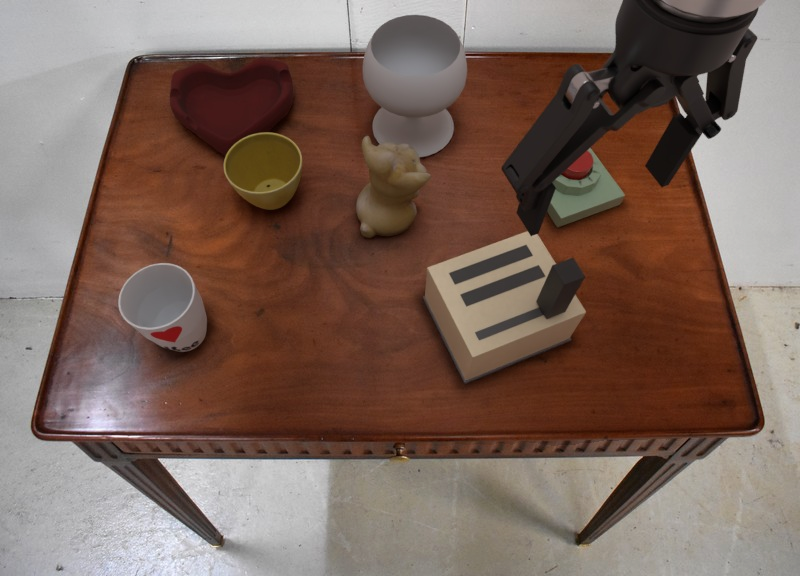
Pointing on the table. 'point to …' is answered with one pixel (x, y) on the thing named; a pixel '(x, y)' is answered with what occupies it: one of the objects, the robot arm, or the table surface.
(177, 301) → the cup
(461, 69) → the chalice
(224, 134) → the ashtray
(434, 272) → the toaster
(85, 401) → the table surface
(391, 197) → the figurine
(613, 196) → the control block
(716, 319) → the table surface
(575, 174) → the button
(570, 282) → the toaster slider
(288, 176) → the flower pot
